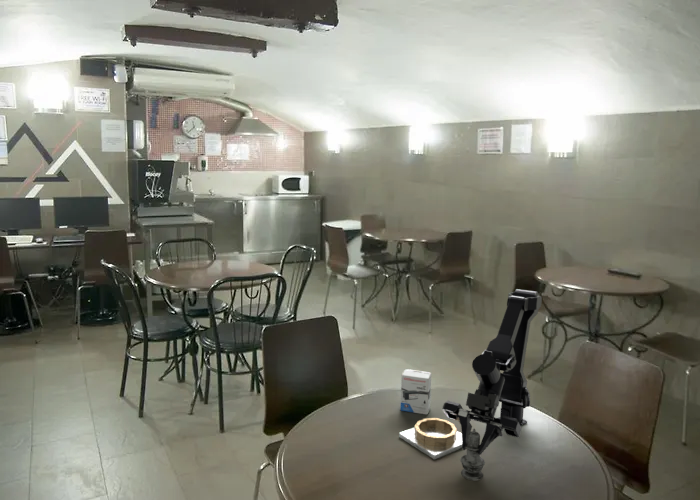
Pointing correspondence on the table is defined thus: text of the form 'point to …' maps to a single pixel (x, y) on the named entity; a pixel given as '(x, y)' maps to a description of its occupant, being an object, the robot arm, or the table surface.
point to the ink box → (415, 391)
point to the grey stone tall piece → (472, 458)
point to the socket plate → (429, 448)
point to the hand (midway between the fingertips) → (471, 451)
